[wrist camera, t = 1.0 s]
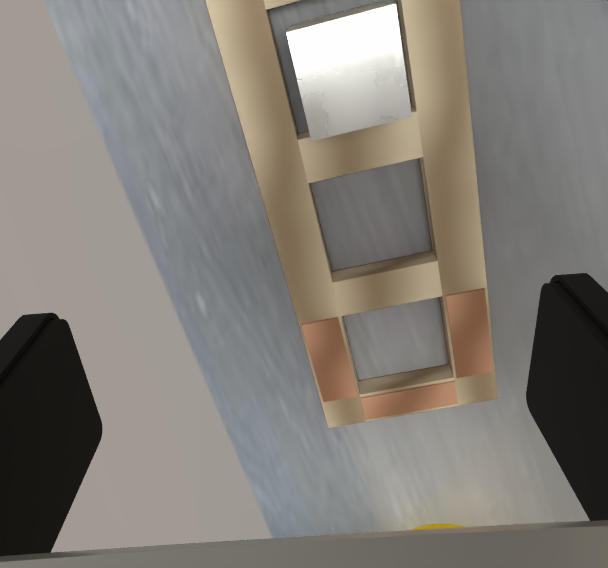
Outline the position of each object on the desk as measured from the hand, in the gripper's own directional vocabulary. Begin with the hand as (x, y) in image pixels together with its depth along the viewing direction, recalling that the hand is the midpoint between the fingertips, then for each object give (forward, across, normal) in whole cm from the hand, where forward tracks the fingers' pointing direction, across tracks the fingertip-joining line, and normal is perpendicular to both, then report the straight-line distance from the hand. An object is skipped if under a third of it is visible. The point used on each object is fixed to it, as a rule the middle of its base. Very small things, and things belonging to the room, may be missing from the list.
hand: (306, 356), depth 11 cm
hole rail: (+22, -4, +6) cm, 23 cm away
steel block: (+22, -2, -3) cm, 23 cm away
